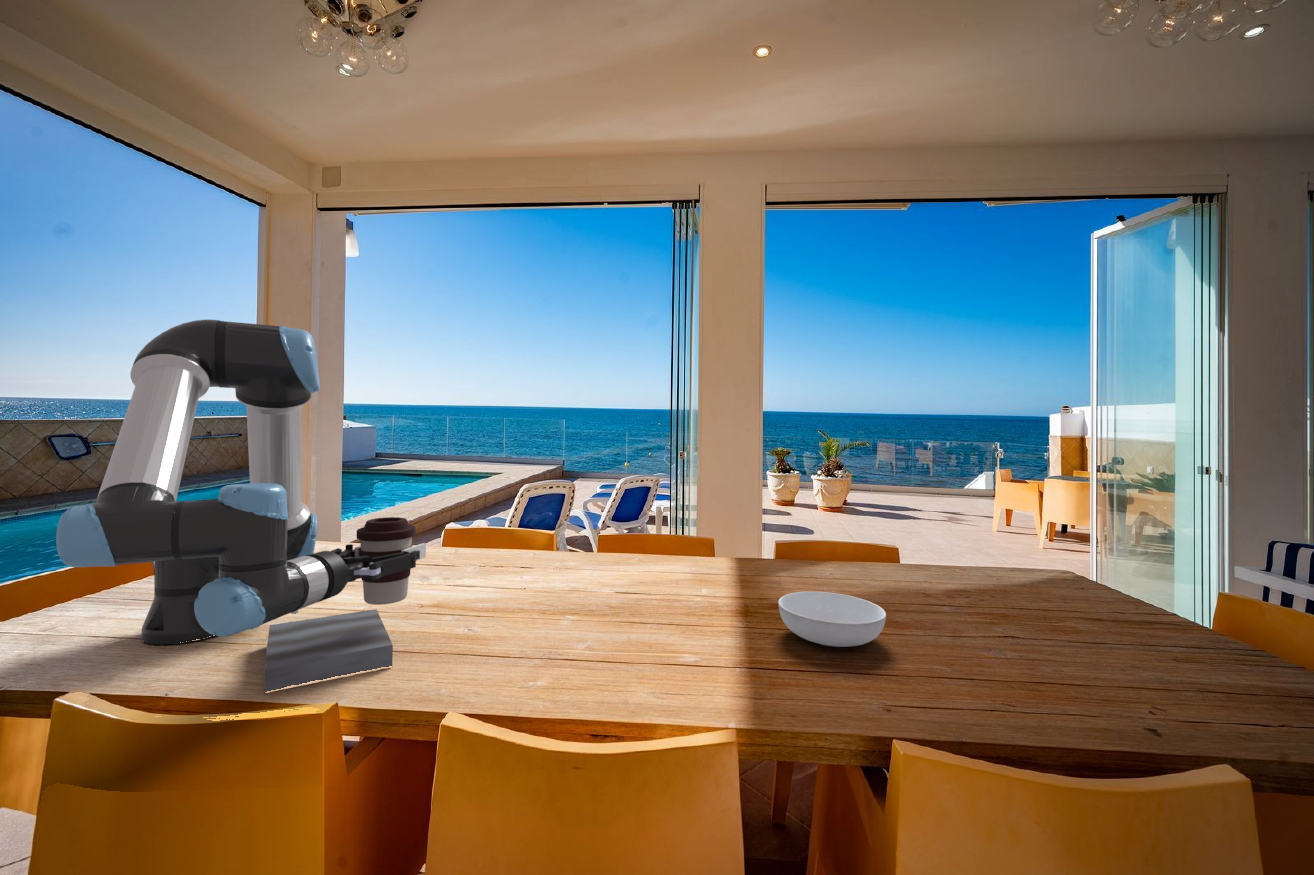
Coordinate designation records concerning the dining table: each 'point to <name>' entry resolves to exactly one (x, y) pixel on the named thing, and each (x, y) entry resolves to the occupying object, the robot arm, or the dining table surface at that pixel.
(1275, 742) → the dining table surface
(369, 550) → the coffee cup
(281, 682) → the stand
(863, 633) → the serving bowl
